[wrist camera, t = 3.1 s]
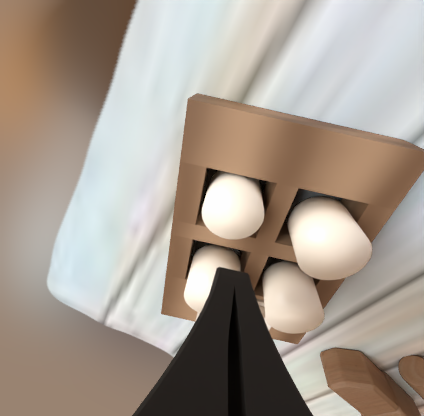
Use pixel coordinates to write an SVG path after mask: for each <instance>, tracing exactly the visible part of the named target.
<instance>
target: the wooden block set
mask: <svg viewBox="0 0 424 416" xmlns="http://www.w3.org/2000/svg"><path fill="white" fill-rule="evenodd" d="M320 357H321V361H322V364H323V368H324V372H325V376H326V380H327V384H328V387H329V388H331V389H332V390H333V391H334V392H336V393H337V394H338V395H339V396H340V397H342V398H343V399H344V400H345V401H347V402H348V403H349V404H350V405H352V406H353V407H354V408H355V409H357V410H358V411H359V412H360V413H361V416H421V414H420V412H419V410H418V408H417V406H416V405H415V403H414V401H413V399H412V398H411V397H410V396H409V395H408V394H407V393H406V392H405V391H404V390H402V389H401V388H400V387H399V386H398V385H397V384H396V383H395V382H394V381H393V380H392V379H391V378H390V377H389V376H388V375H387V374H386V373H385V372H381V371H380V370H379V369H378V368H377V367H376V366H375V365H374V364H373V363H372V362H371V361H370V360H369V359H368V358H367V357H366V356H365V355H364V354H363V353H361V352H360V351H357V350H349V349H341V348H332V349H328V350H325V351H322V352H321V354H320ZM398 368H399V372H400V375H401V376H402V378H403V379H404V380H405V381H406V382H407V383H408V384H409V385H410V386H411V387H412V388H413V389H414V390H415V391H416V392H417V393H418V394H419V395H420V396H421V397H422V398H423V399H424V359H423V358H421V357H419V356H414V355H411V356H406V357H403V358H402V359H401V360H400V362H399V366H398Z"/></svg>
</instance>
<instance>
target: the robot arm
mask: <svg viewBox="0 0 424 416" xmlns="http://www.w3.org/2000/svg"><path fill="white" fill-rule="evenodd" d="M132 416H313V415H312V413H311V412H310V410H309V408H308V407H307V405H306V403H305V402H304V400H303V398H302V396H301V394H300V393H299V391H298V389H297V387H296V386H295V384H294V382H293V380H292V378H291V376H290V374H289V372H288V371H287V369H286V367H285V365H284V363H283V361H282V359H281V357H280V354H279V352H278V350H277V348H276V346H275V344H274V341H273V339H272V337H271V335H270V332H269V330H268V328H267V325H266V323H265V320H264V318H263V315H262V313H261V310H260V307H259V305H258V302H257V299H256V296H255V293H254V290H253V287H252V283H251V280H250V276H249V274H248V273H245V272H240V271H236V270H231V269H227V268H222V267H218V268H217V269H216V272H215V276H214V279H213V283H212V286H211V290H210V293H209V296H208V298H207V300H206V302H205V304H204V307H203V309H202V311H201V313H200V314H199V316H198V318H197V320H196V322H195V324H194V326H193V327H192V329H191V331H190V333H189V334H188V336H187V338H186V339H185V341H184V343H183V344H182V346H181V347H180V349H179V351H178V352H177V354H176V355H175V357H174V358H173V360H172V361H171V363H170V364H169V366H168V367H167V369H166V370H165V372H164V373H163V375H162V376H161V378H160V379H159V380H158V382H157V383H156V385H155V386H154V387H153V389H152V390H151V391H150V393H149V394H148V395H147V397H146V398H145V399H144V401H143V402H142V403H141V405H140V406H139V407H138V409H137V410H136V411H135V413H134V414H133V415H132Z"/></svg>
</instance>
